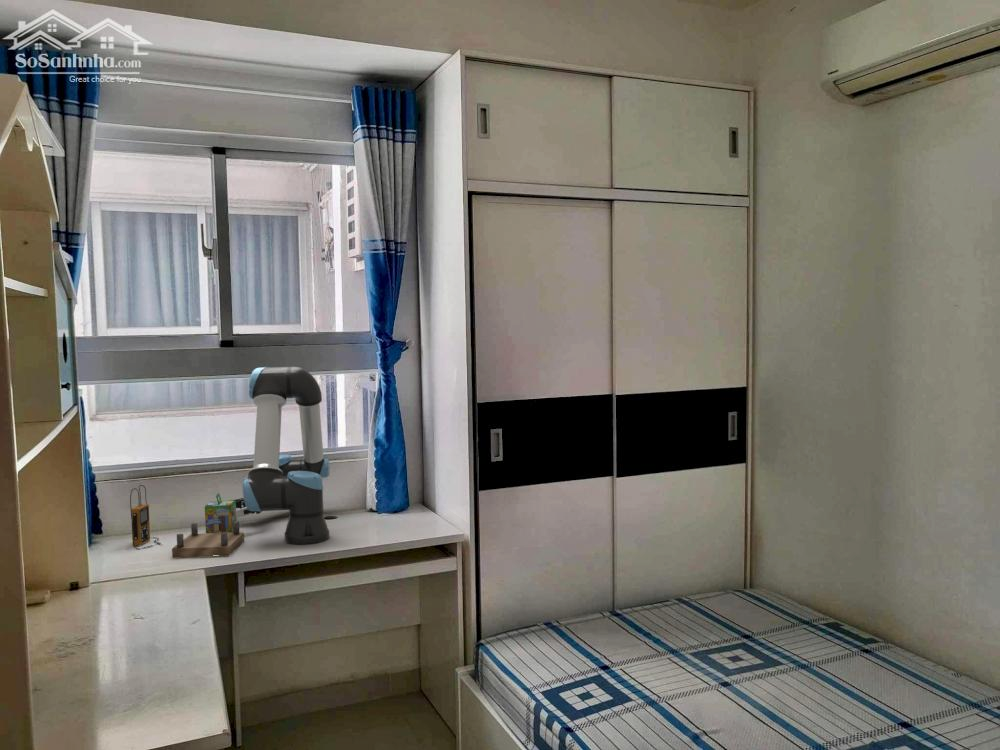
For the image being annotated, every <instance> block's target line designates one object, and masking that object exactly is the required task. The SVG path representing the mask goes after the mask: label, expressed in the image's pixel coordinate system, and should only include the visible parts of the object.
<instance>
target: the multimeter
mask: <svg viewBox="0 0 1000 750" xmlns="http://www.w3.org/2000/svg"><path fill="white" fill-rule="evenodd" d="M140 487H143V488H144V491H145V496H144V497H145V498H144V499H145V500H147V490H146V487H145V485H142V484H141V485H138V488H132V489H131V491H130V498H129V500H130V502H129V503H130V504H129V505H130V508H129V509H130V516H131V517H130V520H131V534H132V540H131V541H132V546H133V547H134V548H135V549H136V550H139V548H138V547H139V546H138V545H142V544H143V545H144V544H146V543H148V541H149V542H150V541H151V538H150V537H151V532H150V531H151V527H150V505H149V503H147V501H145V503H142V496H141V488H140ZM133 490H136V491H137V493H138V494H137V496H138V498H137V499H138V501H137V505H136V506H134V507H132V493H133ZM152 537H153V536H152ZM157 538H158V539H159V537H157ZM157 538H156V539H155V537H153V538H152V539H154V541H153V543H156V544H153V545H147V546H144V547H143V549H147V548H146V547H148V548H151V547H150V546H152V547H154V545H155V546H157V545H163V543H162V542H159V540H160V539H159V540H158V539H157ZM156 540H157V541H156ZM143 545H142V546H143Z"/></svg>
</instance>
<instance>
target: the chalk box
mask: <svg viewBox="0 0 1000 750" xmlns="http://www.w3.org/2000/svg"><path fill="white" fill-rule="evenodd" d="M215 497H216V501H209V502H208V503H207V504H205V506H204V520H205V533H223V532H227V533H233V522H238V520H237V519H238V518H235V510H237V508H236V501H228V500H223V499H222V497H221V495H220V492H218V493H216V495H215Z"/></svg>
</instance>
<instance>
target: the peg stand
mask: <svg viewBox="0 0 1000 750" xmlns="http://www.w3.org/2000/svg"><path fill="white" fill-rule="evenodd" d="M198 527H199V526H198V522H192V523H191V524H190V531H191V532H190V534H189V535H187V536H186V537H185V538H184V533H177V534H176V545H175V546H173V547H172V548H171V557H181V558H199V557H198V556H211V557H214V556H213V555H230V554H231V553H232V552H233V551H234V550H235V549H236V548H237V547H238V546H239V545H240V544H241V543H242V542H243V543H244V542H245V532H243V531H241V532H240V522H239V521H237V522H233V533H227V532H223V533H206V532H205V533H199V529H198ZM243 543H242V544H243ZM242 544H241V545H242ZM239 547H240V546H239ZM239 547H238V548H239ZM238 548H237V549H238ZM237 549H236V550H237ZM236 550H235V551H236ZM235 551H234V552H235ZM234 552H233V553H234ZM233 553H232V554H233ZM232 554H231V555H232ZM231 555H230V556H231Z"/></svg>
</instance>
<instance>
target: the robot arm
mask: <svg viewBox="0 0 1000 750" xmlns="http://www.w3.org/2000/svg"><path fill="white" fill-rule="evenodd" d="M248 384H249V385H248V395H249V398H250V399H251V400H252V402H253V404H254V405H255V406H256V420H255V434H254V436H255V437H254V453H253V467H251V469H249V470H248V477H247V476H246V477H243V478H242V482H241V483H242V487H241V488H242V495H243V496H242V497H241V498H237V499H228V500H227V501H236V510H235V518H236V519H238V518H242V517H244V516H245V517H246V516H247V515H248V516H249V515H251V514H252V515H253V514H256V515H259V514H261V513H262V512H270V511H271V512H272V511H273V512H274V511H288V521H287V525H286V528H285V532H284V542H285V543H288V544H292V545H308V544H307V543H312V544H316V542H318V543H321V542H320V541H322V542H324V541H323V540H325V541H327V540H328V539H329V538H330V529H329V528H328V524H327V522H326V519H325V516H324V515H325V514H324V492H323V491H324V485H323V479H324V478H328V477H329V476H330V471H331V470H330V467H331V466H330V465H329V464H330V459H328V458H324V447H323V446H324V445H323V436H322V435H323V433H322V419H321V407H320V403H322V400H323V399H322V397H323V396H322V390H321V387H320V384H319V383H318V381H317V380H316V378H315V377H314V376H313V375H312V373H310V372H309V371H308V370H306V369H305V368H303V367H300V366H294V365H293V366H269V367H268V366H264V367H256V368H254V369H253V370H252V372H251V375H250V378H249V382H248ZM287 399H295V404H297V406H298V410H299V419H300V420H299V422H300V431H301V432H300V433H301V441H302V442H301V443H302V444H301V445H302V452H303V459H292V456H291V455H290V454H280V450H281V449H280V448H281V434H282V433H281V430H282V428H281V427H282V409H283V407H284V406H286V404H287ZM326 539H327V540H326Z"/></svg>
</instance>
